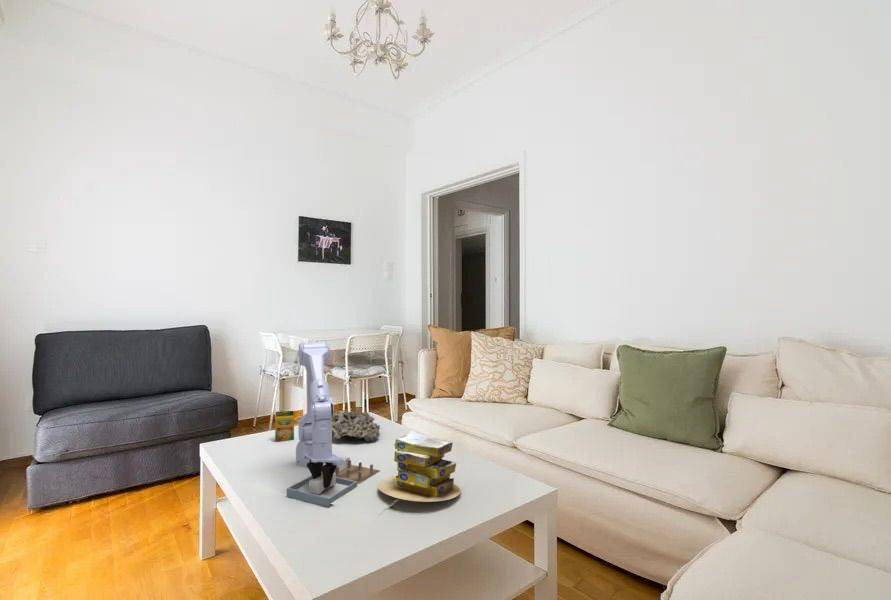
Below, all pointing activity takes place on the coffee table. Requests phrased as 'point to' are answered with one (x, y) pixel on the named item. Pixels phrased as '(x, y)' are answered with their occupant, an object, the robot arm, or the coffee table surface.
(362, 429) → the decorative rock
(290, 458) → the coffee table surface
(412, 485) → the stacked boxes on plate
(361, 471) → the board
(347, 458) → the block
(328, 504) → the tray
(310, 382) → the robot arm
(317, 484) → the marked fuse
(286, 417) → the crayon box
